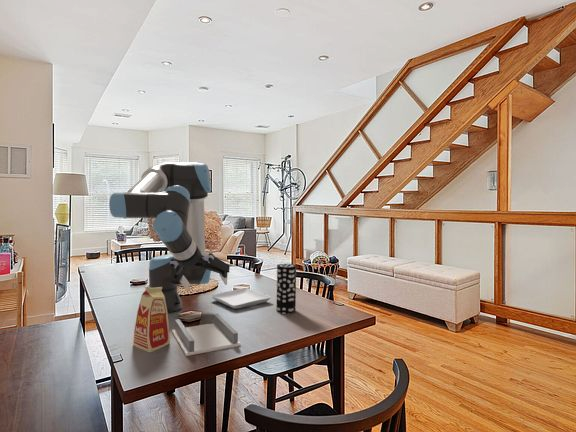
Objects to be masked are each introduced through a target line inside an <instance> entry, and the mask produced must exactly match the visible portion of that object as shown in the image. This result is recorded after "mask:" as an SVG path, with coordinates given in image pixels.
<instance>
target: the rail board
mask: <svg viewBox="0 0 576 432" xmlns="http://www.w3.org/2000/svg"><path fill="white" fill-rule="evenodd" d="M171 330H172V331H171V332H172V334H173V336H174V338H175V339H176V341H177V344H178V345H179V346H180V348H181V350H182V351H183V353H184V355H185V356H186V357H188V356H193V355H198V354H203V353H209V352H214V351H221V350H225V349H230V348H235V347H239V346H241V345H242V343H241V342H240V340H239V336H238V335H239V332H237V331H236V330H235V329H234V328H233V327H232V326H231V325H230V324H229V323H228V322H227V321H226V320H225V319H224V318H223V317H222V316H221V315H219V313H213V323H205V324H199V325H194V326H188V327H187V326H185V325H184V324H183V322H182V321H181V320H180V319H179V318H178V319H174V329H171Z"/></svg>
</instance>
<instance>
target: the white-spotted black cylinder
mask: <svg viewBox="0 0 576 432" xmlns="http://www.w3.org/2000/svg"><path fill="white" fill-rule="evenodd" d="M296 290H297V265H296V264H292V263H280V264H277V265H276V313H279V314H283V315H291V314H295V312H296V308H297V307H296V305H297V304H296V303H297V300H296V299H297V297H296V296H297V291H296Z"/></svg>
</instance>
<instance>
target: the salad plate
mask: <svg viewBox="0 0 576 432" xmlns="http://www.w3.org/2000/svg"><path fill="white" fill-rule="evenodd" d="M209 295H210V294H209ZM210 297H211V299H212V300H215V301H217V302H219V303H221V304H223V305H225V306H228V307H231V309H236V310H237V309H243V308H247V307H252V306H256V305H260V304H263V303H265V302H268V301H270V299H271V298H272V297H271V296H270V295H267V294H265V293H262V292H259V291H256V290H254V289H252V288H247V287H244V288H243V287H242V288H238V289H233V290H229V291H223V292H219V293H214V294H211V295H210Z"/></svg>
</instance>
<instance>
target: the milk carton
mask: <svg viewBox="0 0 576 432" xmlns="http://www.w3.org/2000/svg"><path fill="white" fill-rule="evenodd" d="M144 288H145V290H144V291H143V292H142V294H141V296H140V300H139V304H138V308H137V312H136V317H135V318H136V319H135V325H134V330H133V331H134V332H133V341H132V345H133V346H134V347H136V348H138V349H140V350H142V351H145V352H147V353H152V352H155V351H157V350H159V349H162V348H163V347H165V346H168V345H170V343H171V342H170V341H171V340H170V339H171V338H170V337H171V336H170V325H169V313H167V307H166V301H165V296H164V295H163V293H162V291H161V290H162V287H157V288H150V287H149V286H148V287H147V286H145V287H144Z"/></svg>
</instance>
